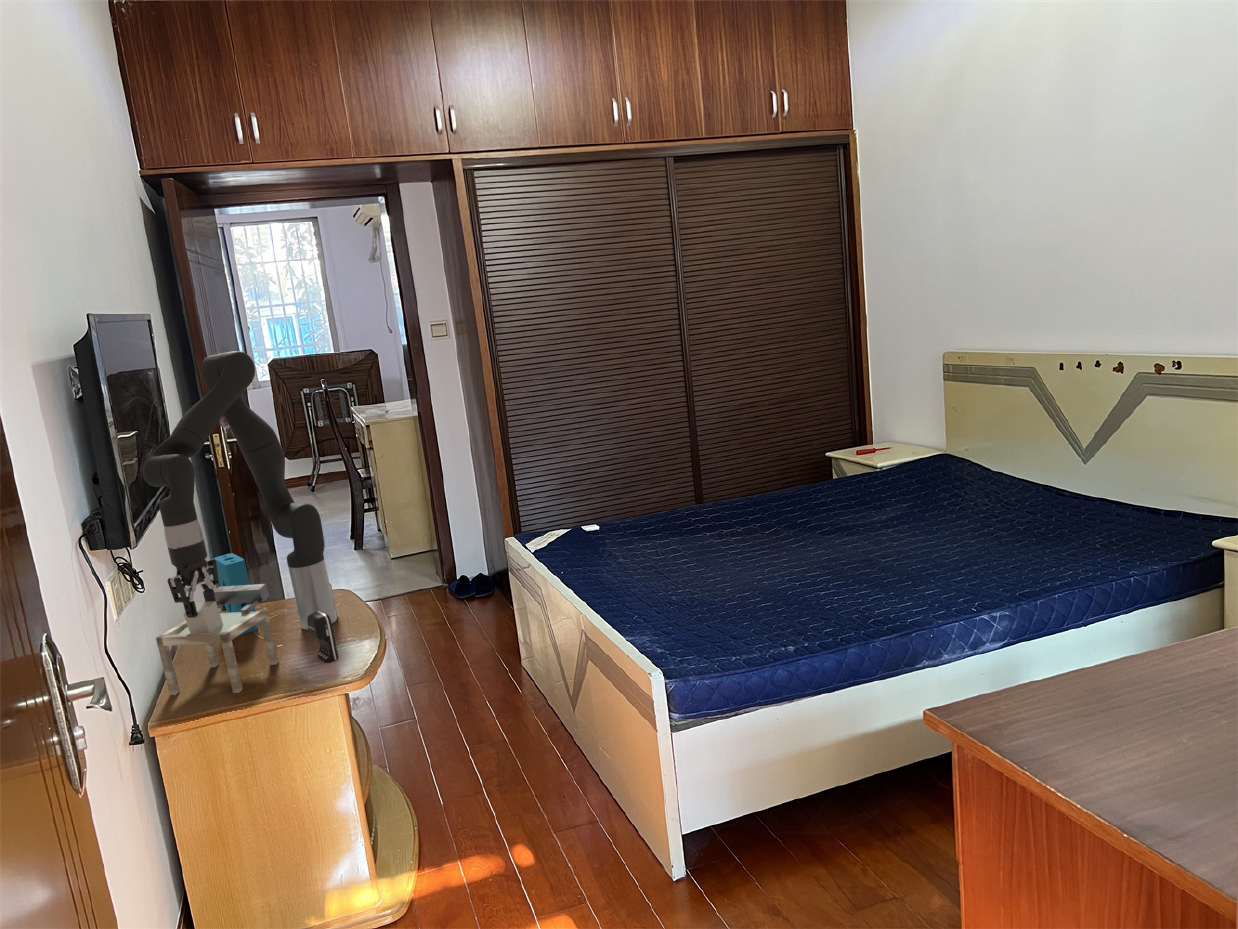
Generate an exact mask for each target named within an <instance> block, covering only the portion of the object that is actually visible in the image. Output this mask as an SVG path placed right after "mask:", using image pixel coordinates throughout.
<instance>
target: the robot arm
mask: <svg viewBox="0 0 1238 929" xmlns="http://www.w3.org/2000/svg"><path fill="white" fill-rule="evenodd" d="M200 366H201V367H200V372H201V373H200V374H201V378H202V380H203V383H204V384H205V387H206V388H207V390H208V392H207V394H205V395H204V396H203V397H202V398H201V399H200V400H198V401H197V402H196V403H194V405H192V407H191V408H189V409H188V410H187V411H186V412H185V413H184V415H182V417H181V418H180V420H179V421H178V422H177V424H176V426H175V427H174V429H173V431H172V432H171V434H170V436H169V437H168V438H167V439H165V440H164V441H163V442H161V443H160V444H159V445H158V446H157V447H156V448H155V449H154V450H153V451H152V452H151V453H150V454H149V456H148V457H147V459H146V460H145V461H144V464H143V466H142V476H143V479H144V481H145V482H146V483H147V484H148V485H149V486H151V487H155V488H164V487H170V488H169V490H170V491H169V496H167V497H165V498H163V499H161V501H160V502H159V506H158V507H159V512H160V516H161V520H162V524H163V525H162V526H163V530H164V531H163V532H164V538H165V543H166V547H167V551H168V555H169V560H170V562H171V565H172V566H174V567H175V569H176V575H175V576H173V577H168V578H167V584H168V587H169V590H170V594H171V595H172V599H173V601H174V602H175V603H176V604H177V603H181V604H183V605H182V606H183V608H184V612H185V613H186V615H187V617H188V618H194V617H196V616H197V615H198V614H197V610H196V606H195V603H196V602H195V600H194V594H195V592H196V591H197V585H199V587H200V588H201V589H202V590H203V591H202V594H203V598H204V602H212V601H216V598H215V594H214V590H215V586H216V585H218V584H220V583H219V579H218V572H217V565H216V560H215V559H214V558H211V559H209V558H208V551H207V548H206V547H207V546H206V544H205V538H204V535H203V530H202V527H201V524H200V522H199V519H198V515H197V514H198V513H197V509H196V506H195V502H194V501H195V500H194V498H195V481H196V480H195V479H196V472H195V467H194V464H193V462H192V461H191V459H190V458H192V457H195V456H197V455H198V454H199V453H200V452H201V450H202V448H203V447H204V445H205V443H206V442H207V441H208V439H209V437H210V435H211V433H213V430H214V429H215V427H216V425H217V424H218V423H219V422H220V420H221V419H222V418H223V417H224V420H226V422H227V425H228V426H229V428H230V430H231V432H232V435H233V436H234V439H235V440H236V443H237V446H238V448H239V451H240V452H241V454H242V456H243V459H244V460H245V462H246V464H247V466H248V468H249V470H250V471H251V474H252V475H251V476H253V478H254V481H255V483H256V486H257V487H258V490H259V493H260V494H261V496H262V499H263V502H264V505H265V508H266V511H267V513H268V517H269V520H270V522H271V524H272V527H273V529H274V531H275V532H276V533H277V534H278V535H279V536H281V537H283V538H286V539H292V543H293V544H292V545H293V551H291V552H289V553H288V554H287V555H286V563H287V568H288V573H289V578H290V581H291V582H290V583H291V587H292V591H293V596H294V599H295V605H296V609H297V614H298V619H299V623H300V628H301V629H302V630H307V631H309V629H308V623H307V618H308V616H309V615H310V614H312V613H315V612H317V611H322V612H325V613H326V614H328V615H329V617H330V619H331V623H332V625H333V624H334V623H335V622H337V620H338V618H337V617H338V610H337V606H336V601H335V596H334V592H333V587H332V586H333V585H332V583H330V580H329V579H330V578H329V575H328V574H329V573H328V569H327V566H326V560H325V556H324V551H325V545H326V544H325V537H324V531H323V526H322V520H321V516H320V513H319V511H318V509H317V508H316V506H314V505H313V504H311V503H305V502H304V503H302V502H295V501H294V499H293V497H292V495H291V493H290V491H289V489H288V487H287V484H286V478H285V473H286V457H285V452H284V449H283V447H282V445H281V442H280V440H279V438H278V436H277V434H276V432H275V431H274V429H273V428H272V427H271V425H269V424H268V422H267V421H265V420H264V419H263V418H262V417H261V416H259V415H258V414H257V413H256V412H255V411H254V410H253V409H251V407H249V405H248V404H247V403H246V401H245V400H244V398H243V397H242V394H243V393H244V392H245V391H246V390H247V389H248V388H249V387H250V385H251V384H252V382H253V381H254V378H255V375H256V366H255V362H254V361H253V359H252V357H251V356H250V355H248V354H247V353H246V352H244V351H242V350H241V351H240V350H234V351H226V352H220V353H217V354H211V355H209V356H207V357H205V358H204V359H203V360H202V362H201V365H200ZM207 558H208V559H207ZM211 575H212V576H211ZM187 594H188V595H187Z"/></svg>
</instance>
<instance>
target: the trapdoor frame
mask: <svg viewBox="0 0 1238 929" xmlns="http://www.w3.org/2000/svg"><path fill="white" fill-rule="evenodd" d="M268 611H269V610H268V608H267V607H260V608H259V609H257V610H255V612H254V613H252V614H251V615H249V616H248V617H246V618H245V619H243V620H242V621H240V622H238V623H237V624H235V625H234V626H232V627H231V628H229V629H228V630H226V631H225V632H216V633H197V634H179V633H180V632H181V631H183V630H184V629H185V628H186V627H188V625H187V623H186V620H184V621H182V622H180V623H178V624H177V625H176V626H174V627H172V628H171V629H169V630H167V631H165V632H164V633H162V634H160V635H158V636H157V637H155V640H156V644H157V648H158V652H159V657H160V661H161V665H162V667H163V668H162V669H163V672H164V677H165V680H166V685H167V687H168V692H169V696H177V694H179V693H181V689H180V687H179V683H178V678H177V675H176V670H175V665H174V662H173V659H172V654H171V650H170V647H171V646H173V647H174V646H192V645H204V647H205V651H206V655H207V660H208V664H209V668H216V667H218V666H219V665H220V662H219V658H218V653H217V652H218V651H217V648H216V645H215V644H221V648H222V651H223V655H224V660H225V664H226V667H227V668H226V669H227V672H228V677H229V682H230V685H231V690H232V694H240V693H241V692H242V691H243V690H244V688H243V684H242V680H241V675H240V671H239V666H238V662H237V658H236V654H235V648H234V645H233V641H232V640H234V639H236V638H237V637H239V636H241V635H240V634H241V633H243V632H244V631H246V630H247V629H249V628H250V627H252V626H258V627H261V631H262V636H263V641H264V644H265V649H266V654H267V658H268V662H269V663H268V664H269V665H270V666H273V665H274V666H275V665H277V664H279V662H280V660H279V655H278V652H277V651H278V650H277V647H276V641H275V638H274V634H273V629H272V625H271V621H270V616H269V615H270V614H269V612H268Z"/></svg>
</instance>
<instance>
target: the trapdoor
mask: <svg viewBox="0 0 1238 929" xmlns="http://www.w3.org/2000/svg"><path fill="white" fill-rule="evenodd" d="M214 594H215V598H216V604H217V607H218V610H219V609H220V608H221V607H223V606H225V604H240V603H248V604H247V605H246V606H245V607H243V608H242V609H241V612H231V613H227V612H219V613H220V616H221V619H222V622H223V625H222V626H221V627H220V628H218V629H217V630H216V631H215V632H214V633H216V632H225V631H226V630H228V629H229V628H231V627H232V626H234V625H235V624H237V623H238V622H240V621H242V620H243V619H245V618H246V617H248V616H249V615H251V614H252V613H254V611H251V610H252V609H253V608H254V607H255V608H256V606H258V605H259V604H260V603H264V602H265V601H267V599H268V598H269V597H270V593H269V590H268V586H267V584H266V583H259V584H257V583H256V584H250V585H239V586H223V587H220V586H218V587H217V588H216V589H214ZM179 634H190V631H189V628H188V627H186V628H185V629H184V630H183V631H181V632H180V633H179Z"/></svg>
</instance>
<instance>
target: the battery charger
mask: <svg viewBox="0 0 1238 929" xmlns="http://www.w3.org/2000/svg"><path fill="white" fill-rule="evenodd" d="M307 623H308V629H309V630H308V633H309V635H310V636H311V637H313V638H315V639H317V640H318V644H319V648H318V652H317V655H316V656H317V658H318V659H319V660H321V661H323V662H324V663H330V662H333V661H337V660H338V659H339V653H338V648H337V645H336V638H335V632H334V628H333V624H332V623H331V619H330V617H329V615H328V614H326V613H325V612H322V611H317V612H315V613H312V614H310V615H309V616H308V618H307Z"/></svg>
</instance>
